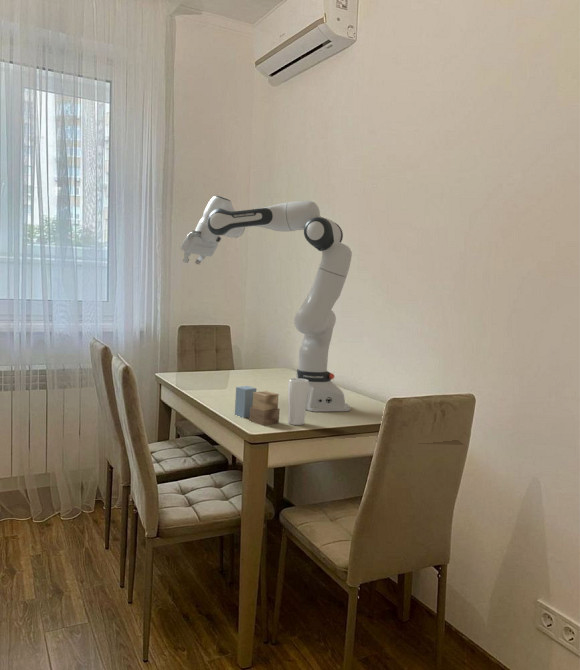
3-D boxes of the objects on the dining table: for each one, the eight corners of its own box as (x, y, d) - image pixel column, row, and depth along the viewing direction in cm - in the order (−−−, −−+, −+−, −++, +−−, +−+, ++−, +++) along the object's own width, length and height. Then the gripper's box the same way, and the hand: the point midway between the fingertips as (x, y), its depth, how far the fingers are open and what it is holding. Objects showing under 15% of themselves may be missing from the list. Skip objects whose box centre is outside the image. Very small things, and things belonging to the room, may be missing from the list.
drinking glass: (283, 424, 194) (285, 380, 192) (290, 420, 200) (293, 377, 199) (302, 427, 191) (305, 382, 190) (308, 423, 198) (311, 379, 196)
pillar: (245, 413, 206) (247, 385, 205) (254, 416, 203) (256, 388, 202) (234, 415, 203) (236, 387, 202) (243, 418, 199) (245, 389, 198)
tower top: (265, 405, 199) (266, 390, 199) (277, 408, 195) (278, 394, 195) (252, 407, 195) (253, 392, 195) (264, 410, 191) (265, 395, 190)
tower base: (264, 419, 200) (265, 404, 200) (278, 423, 196) (279, 408, 195) (249, 421, 196) (250, 406, 195) (263, 426, 191) (264, 411, 190)
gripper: (198, 233, 226) (183, 264, 229) (223, 239, 245) (209, 268, 248) (186, 226, 228) (171, 257, 231) (212, 232, 247) (198, 261, 250)
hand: (191, 263), depth 240 cm, fingers open, 8 cm apart
